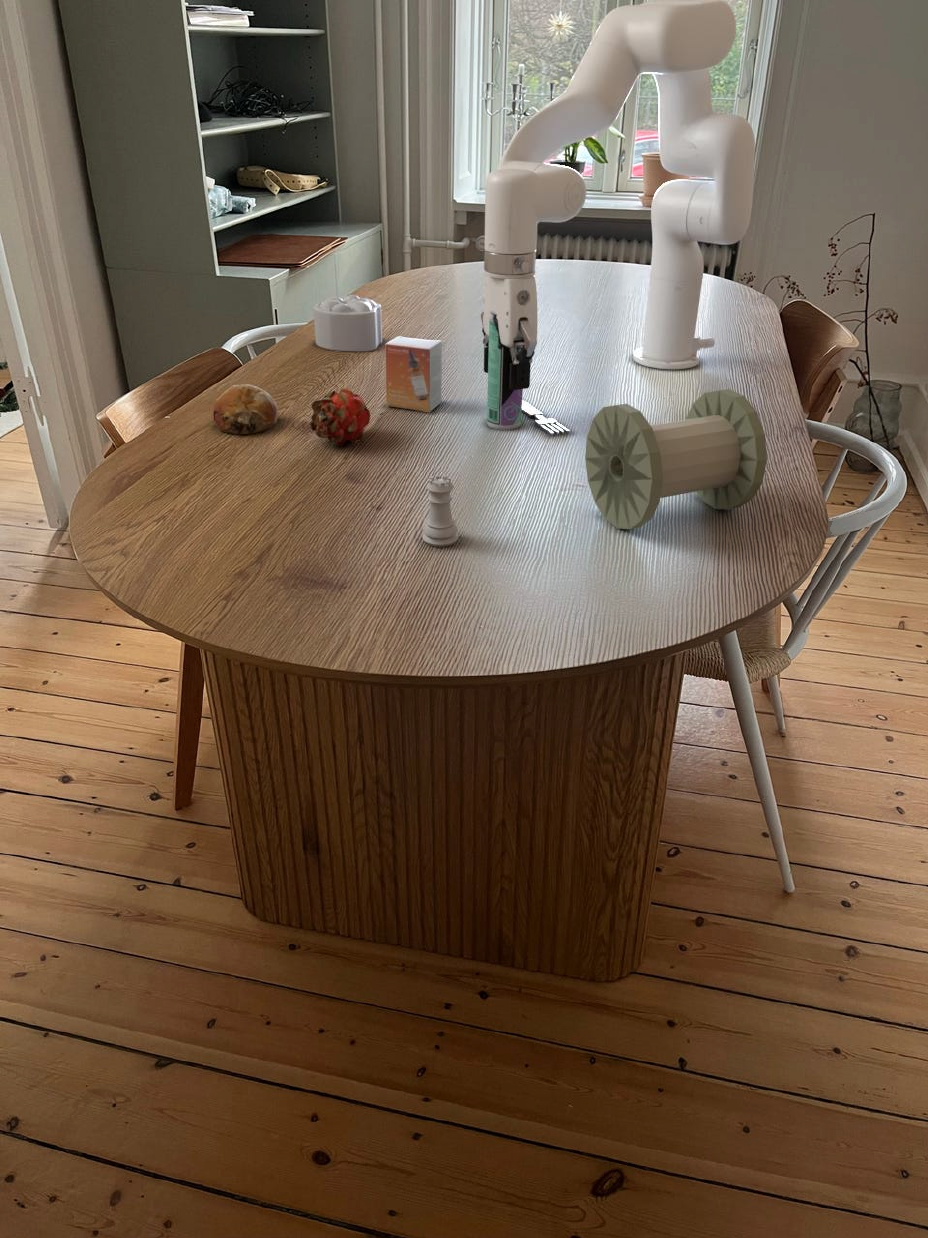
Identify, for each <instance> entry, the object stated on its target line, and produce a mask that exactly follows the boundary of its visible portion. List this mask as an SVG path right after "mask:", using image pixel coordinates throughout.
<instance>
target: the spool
mask: <svg viewBox="0 0 928 1238" xmlns="http://www.w3.org/2000/svg"><path fill="white" fill-rule="evenodd" d="M766 441H767V440H766V433H765V430H764V428H763V424H762V422H761V420H760V416H759V414H758V411H757V410H756V408H754V407H753V405H752V404H751V402H749V400H748V399H747V397H745V395H743V394H741V393H738V392H737V391H734V390H732V389H730V388H726V389H720V390H719V389H718V390H713V391H707V392H704V393H702V394H701V396H699V397H698V398H697V399H696V400H695V401H694V402H693V403H692V404H691V406H690V409H689V411H688V413H687V416H686V418H685V419H682V420H676V421H669V422H662V423H656V424H650V423H649V421H648V420H647V418H646V417H645V416H644V414H643V413H642V411H641V410H639V409H637V408H635V407H634V406H632V405H631V404H628V403H621V404H620V403H619V404H613V405H609V406H603V407H602V408H601V409H600V410H599V412H598V413H596V415H595V416H594V417H593V418H592V420H591V423H590V427H589V430H588V432H587V435H586V442H585V443H586V444H585V445H586V446H585V455H584V461H585V469H586V476H587V483H588V486H589V489H590V491H591V492H590V493H591V495H592V498H593V501H594V503H595V505H596V507H597V508H598V510H599V511H600V513H601V515H602V517H603V518H604V520H606V521H607V522H609V523H610V524H611V525H612V526H613V527H615V528H616V529H618V530H619V529H622V530H633V529H637V528H642V527H643V526H644V525H646V524H647V523H648V522H649V521H651V520H652V519H653V518H654V515H655V513H656V511H657V508H658V506H659V504H660V502H661V499H663V498H669V497H675V496H679V495H684V494H690V493H696V494H697V495H698V497H699V498H700V500H701V501H702V502H704V503H705V504H707V505H708V506H710V507H712V508H713V509H715V510H734V509H739V508H742V507H743V506H744V505H746V504H748V503H749V502H750V501H752V500H753V499H754V498H755V496H756V494H757V492H758V491H759V489H760V487H761V486H762V484H763V482H764V479H765V478H764V477H765V472H766V468H767V467H766V466H767V463H768V462H767V461H768V454H767V453H768V452H767V442H766Z"/></svg>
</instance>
